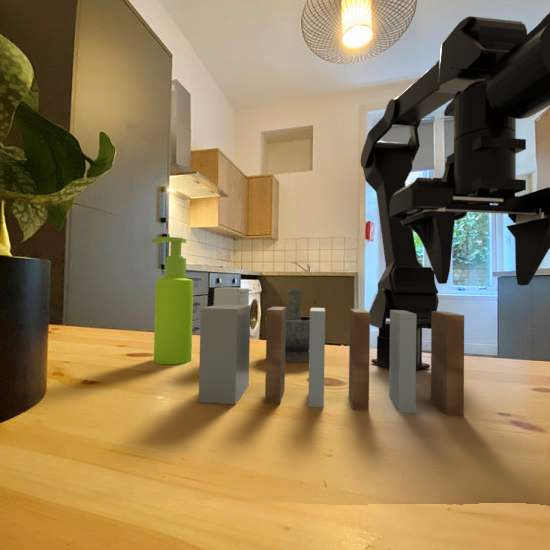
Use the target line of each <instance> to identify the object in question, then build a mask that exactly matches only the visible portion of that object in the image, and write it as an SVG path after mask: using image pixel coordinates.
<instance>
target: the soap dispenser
mask: <svg viewBox="0 0 550 550" xmlns="http://www.w3.org/2000/svg"><path fill="white" fill-rule="evenodd" d="M150 242H152V243H154V244H162V243H170V248H169V255H168V256H167V257H164V269H163V270H164V271H163V273H164V275H163V276H164V277H160V278H157V279H155V296H154V299H155V301H154V302H155V303H154V304H155V305H154V337H153V338H154V340H153V341H154V342H153V363H155V364H160V365H181V364H185V363H189V362H191V361H192V356H193V355H192V350H193V348H192V346H193V317H194V316H193V314H194V313H193V310H194V308H193V307H194V280H193V279H190V278H188V277H187V275H186V274H187V258H184V256H182V243H183V244H187V239H186V238H183V237H175V236H174V237H173V236H161V237H155V238H152V239H150Z"/></svg>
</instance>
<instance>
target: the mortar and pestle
mask: <svg viewBox="0 0 550 550" xmlns="http://www.w3.org/2000/svg"><path fill="white" fill-rule="evenodd" d="M287 296H288V298H287V299H288V300H287V306H286V340H285V362H289V363H304V362H307V361H308V362H309V340H310V316H305V315H302V306H301V305H302V304H301V303H302V301H301V298H302V297H303V291H302V290H301V289H299V288H294V287H293V288H290V289H288V290H287ZM264 327H265V328H264V329H265V331H266V330H267V316H266V317H265V318H264Z"/></svg>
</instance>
